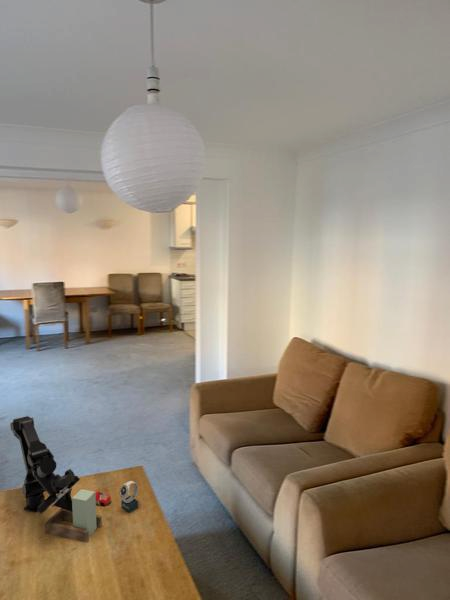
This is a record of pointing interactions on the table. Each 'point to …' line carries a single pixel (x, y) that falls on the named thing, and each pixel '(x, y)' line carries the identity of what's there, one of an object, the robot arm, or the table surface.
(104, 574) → the table surface
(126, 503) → the watch
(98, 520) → the brown rectangular frame
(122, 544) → the table surface
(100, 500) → the race car
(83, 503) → the block
